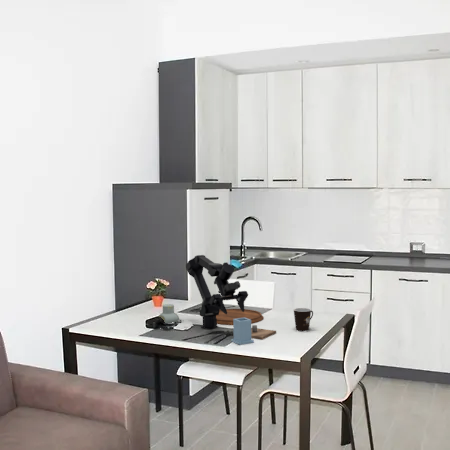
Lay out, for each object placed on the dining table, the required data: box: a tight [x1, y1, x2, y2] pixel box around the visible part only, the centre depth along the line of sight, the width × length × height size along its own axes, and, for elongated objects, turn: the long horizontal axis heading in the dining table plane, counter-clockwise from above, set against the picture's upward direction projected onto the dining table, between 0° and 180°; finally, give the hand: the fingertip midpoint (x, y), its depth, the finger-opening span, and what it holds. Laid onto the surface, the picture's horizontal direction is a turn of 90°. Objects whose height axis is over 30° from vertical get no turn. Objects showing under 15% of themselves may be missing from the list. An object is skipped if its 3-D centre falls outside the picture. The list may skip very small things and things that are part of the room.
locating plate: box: [232, 324, 277, 341], centre depth 297 cm, size 16×14×4 cm
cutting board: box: [216, 308, 264, 326], centre depth 332 cm, size 32×32×3 cm
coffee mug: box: [293, 307, 314, 332], centre depth 305 cm, size 12×9×10 cm
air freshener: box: [158, 303, 180, 323], centre depth 321 cm, size 11×8×10 cm
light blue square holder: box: [230, 318, 255, 346], centre depth 283 cm, size 8×8×10 cm
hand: (235, 312), depth 288 cm, fingers open, 9 cm apart
